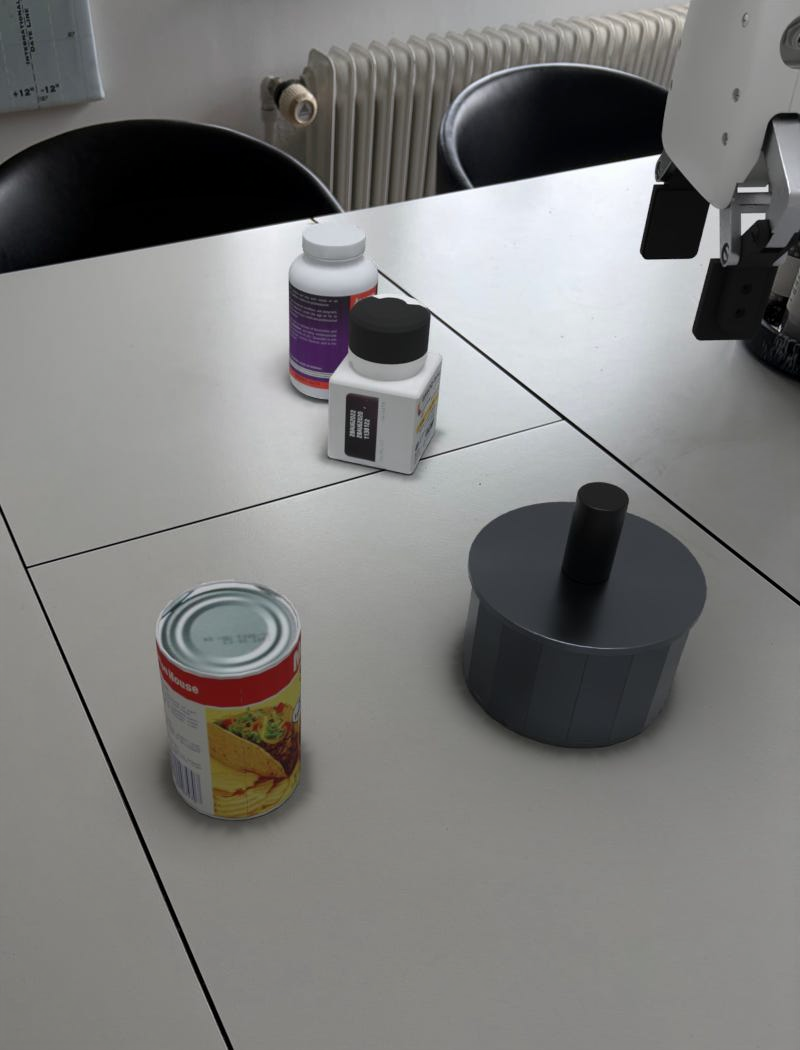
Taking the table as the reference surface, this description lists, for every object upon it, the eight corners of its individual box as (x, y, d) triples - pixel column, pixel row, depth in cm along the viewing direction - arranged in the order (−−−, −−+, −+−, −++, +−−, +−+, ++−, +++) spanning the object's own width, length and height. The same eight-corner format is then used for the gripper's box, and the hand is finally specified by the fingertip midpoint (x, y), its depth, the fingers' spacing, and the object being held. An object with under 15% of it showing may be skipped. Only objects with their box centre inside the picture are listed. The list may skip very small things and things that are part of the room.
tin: (635, 606, 76) (662, 511, 70) (690, 745, 66) (728, 648, 60) (450, 609, 76) (463, 513, 70) (478, 750, 66) (495, 652, 60)
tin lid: (664, 514, 71) (689, 428, 67) (734, 662, 60) (770, 572, 56) (452, 516, 71) (462, 430, 66) (485, 666, 60) (500, 575, 55)
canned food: (327, 770, 64) (331, 625, 56) (231, 843, 60) (221, 698, 52) (241, 704, 68) (234, 560, 60) (146, 769, 64) (124, 624, 56)
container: (411, 476, 88) (424, 333, 79) (326, 458, 90) (328, 316, 81) (436, 431, 94) (450, 293, 85) (354, 415, 95) (360, 278, 87)
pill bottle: (358, 411, 96) (365, 257, 86) (277, 396, 98) (274, 244, 88) (383, 371, 102) (391, 223, 92) (305, 358, 103) (305, 211, 94)
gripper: (982, -52, 38) (826, 373, 50) (801, -122, 51) (711, 230, 62) (779, -51, 38) (670, 376, 49) (648, -121, 50) (586, 232, 62)
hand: (693, 294), depth 56 cm, fingers open, 9 cm apart
